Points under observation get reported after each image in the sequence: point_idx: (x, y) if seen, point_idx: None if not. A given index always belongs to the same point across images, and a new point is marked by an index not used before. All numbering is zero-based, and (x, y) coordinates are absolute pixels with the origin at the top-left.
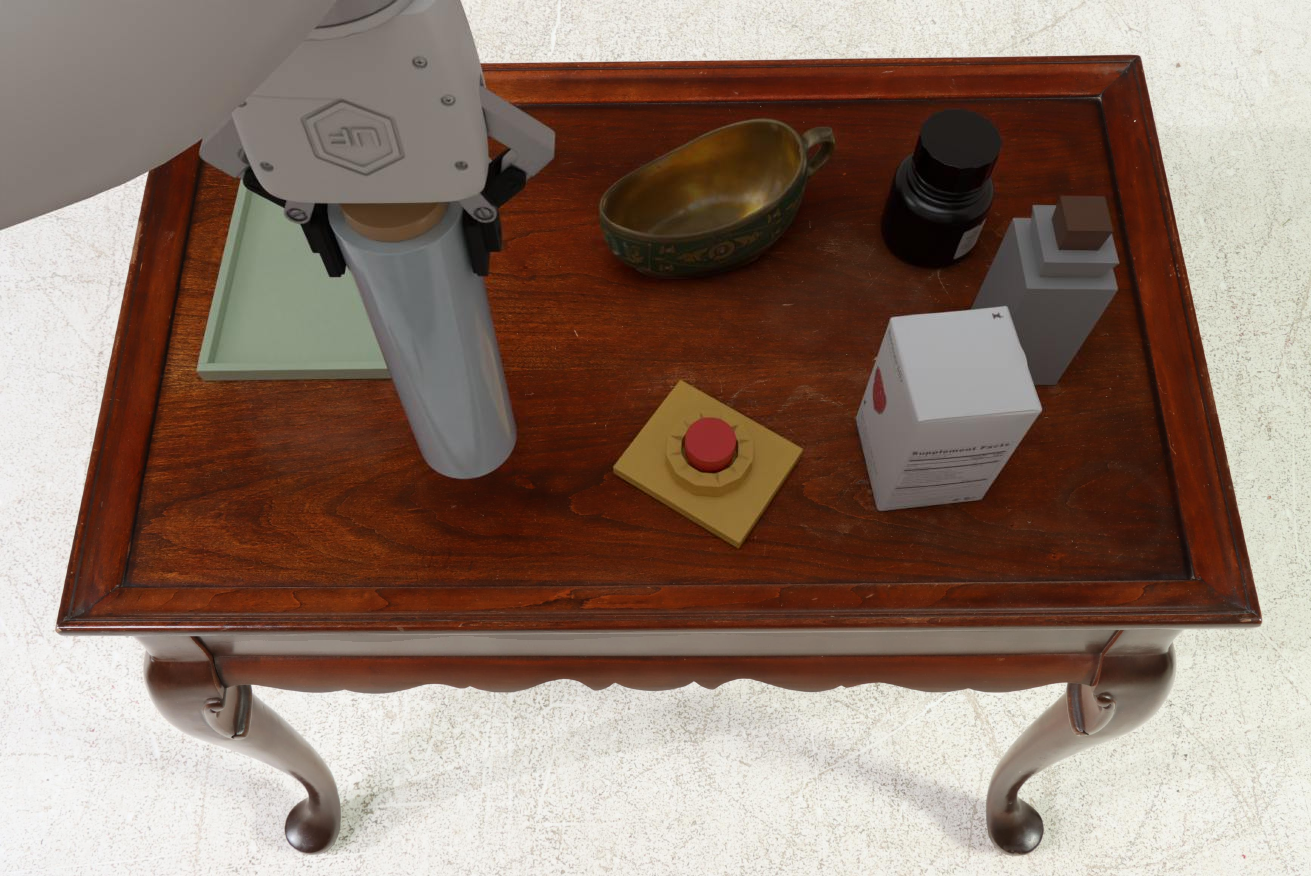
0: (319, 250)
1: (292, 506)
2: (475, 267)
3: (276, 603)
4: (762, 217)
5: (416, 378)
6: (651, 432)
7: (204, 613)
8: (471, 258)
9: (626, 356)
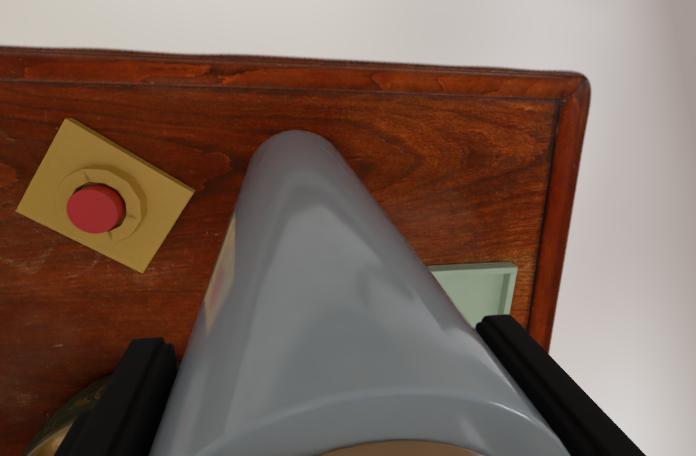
0: (567, 377)
1: (446, 162)
2: (148, 360)
3: (455, 81)
4: (57, 425)
5: (332, 175)
6: (162, 224)
7: (505, 75)
8: (148, 386)
9: (195, 293)
